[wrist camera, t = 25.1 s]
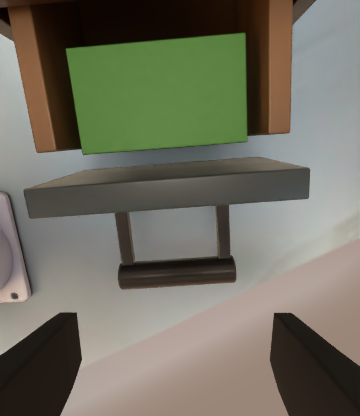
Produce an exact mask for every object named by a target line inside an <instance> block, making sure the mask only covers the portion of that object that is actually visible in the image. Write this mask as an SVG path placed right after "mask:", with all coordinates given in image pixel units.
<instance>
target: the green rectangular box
mask: <svg viewBox="0 0 360 416" xmlns="http://www.w3.org/2000/svg"><path fill="white" fill-rule="evenodd" d="M66 54H67V60H68V66H69V73H70V79H71V85H72V91H73V98H74V104H75V110H76V116H77V123H78V129H79V135H80V141H81V148H82V153H83V155H87V154H100V153H113V152H125V151H138V150H151V149H164V148H177V147H190V146H203V145H215V144H228V143H241V142H247V82H246V34H245V33H234V34H223V35H211V36H200V37H189V38H177V39H166V40H155V41H143V42H132V43H121V44H109V45H98V46H87V47H75V48H67V49H66Z"/></svg>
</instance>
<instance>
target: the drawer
mask: <svg viewBox="0 0 360 416" xmlns="http://www.w3.org/2000/svg"><path fill="white" fill-rule="evenodd" d="M7 8H8V13H9V18H10V23H11V28H12V33H13V38H14V43H15V48H16V53H17V58H18V63H19V68H20V73H21V78H22V83H23V88H24V93H25V98H26V103H27V108H28V113H29V118H30V123H31V128H32V133H33V138H34V143H35V148H36V152H37V153H42V152H55V151H66V150H77V149H82V148H81V141H80V135H79V129H78V123H77V116H76V110H75V104H74V98H73V91H72V85H71V79H70V73H69V66H68V60H67V54H66V49H67V48H75V47H87V46H98V45H109V44H121V43H132V42H143V41H155V40H166V39H177V38H189V37H200V36H211V35H223V34H234V33H245V34H246V82H247V136H255V135H271V134H284V133H290V111H291V62H292V14H293V0H77V1H66V2H55V3H45V4H34V5H23V6H13V7H7ZM309 182H310V169H309V168H307V167H303V166H298V165H294V164H289V163H285V162H280V161H275V160H271V159H266V158H262V157H251V158H238V159H225V160H212V161H199V162H186V163H173V164H160V165H146V166H133V167H120V168H107V169H94V170H84V171H81V172H78V173H75V174H71V175H68V176H65V177H62V178H59V179H55V180H52V181H49V182H46V183H43V184H39V185H36V186H33V187H30V188H27V189H24V196H25V200H26V205H27V210H28V214H29V218H31V219H36V218H49V217H63V216H77V215H91V214H105V213H115V218H116V225H117V232H118V239H119V247H120V254H121V261H122V263H121V264H120V265H119V269H118V282H119V286H120V288H121V289H122V290H124V289H140V288H155V287H171V286H186V285H202V284H217V283H233V282H235V281H236V266H235V260H234V257H233V256H232V255H230V227H229V204H243V203H257V202H271V201H285V200H299V199H308V198H309ZM202 206H215V207H216V229H217V250H218V256H212V257H197V258H182V259H167V260H152V261H137V262H134V261H135V256H134V248H133V240H132V232H131V224H130V216H129V212H133V211H146V210H160V209H174V208H188V207H202Z"/></svg>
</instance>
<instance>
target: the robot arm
mask: <svg viewBox="0 0 360 416" xmlns="http://www.w3.org/2000/svg"><path fill="white" fill-rule="evenodd" d="M14 293H16V294H18V296H16V295H15V294H14ZM30 296H31V290H30V286H29V282H28V277H27V273H26V269H25V265H24V260H23V256H22V252H21V247H20V243H19V239H18V235H17V230H16V226H15V222H14V217H13V213H12V209H11V205H10V200H9V197H8V195H7V194H6V193H4V192H0V303H6V302H22V301H26V300H28V299H29V298H30ZM81 361H82V357H81V348H80V339H79V329H78V320H77V313H59V314H57V315H56V316H54V317H53V318H51V319H50V320H49V321H47V322H46V323H45V324H43V325H42V326H40V327H39V328H38V329H36V330H35V331H34V332H32V333H31V334H30V335H28V336H27V337H26V338H24V339H23V340H21V341H20V342H19V343H17V344H16V345H15V346H13V347H12V348H10V349H9V350H8V351H6V352H5V353H3V354H2V355H0V416H60V415H61V412H62V410H63V408H64V406H65V404H66V402H67V399H68V397H69V395H70V393H71V390H72V388H73V385H74V382H75V379H76V376H77V373H78V370H79V367H80V364H81ZM270 362H271V366H272V370H273V373H274V377H275V380H276V383H277V386H278V390H279V393H280V395H281V398H282V400H283V402H284V405H285V407H286V410H287V412H288V415H289V416H360V366H359V365H357V364H356V363H354V362H353V361H352V360H350V359H349V358H348V357H347V356H345V355H344V354H342V353H341V352H340V351H339V350H337V349H336V348H335V347H334V346H332V345H331V344H329V343H328V342H327V341H326V340H325V339H323V338H322V337H321V336H320V335H318V334H317V333H316V332H315V331H313V330H312V329H311V328H310V327H309V326H307V325H306V324H305V323H304V322H302V321H301V320H300V319H299V318H297V317H296V316H295V315H293V314H292V313H274V320H273V332H272V342H271V353H270Z"/></svg>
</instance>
